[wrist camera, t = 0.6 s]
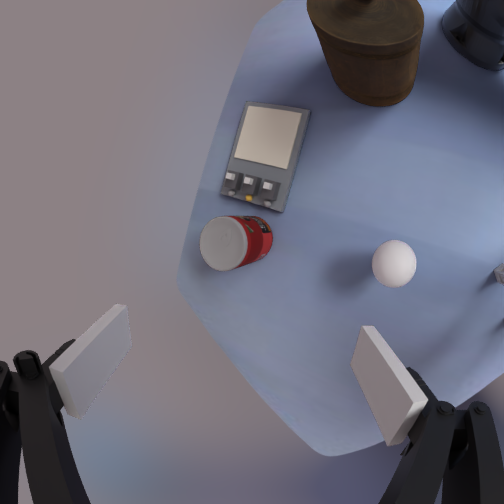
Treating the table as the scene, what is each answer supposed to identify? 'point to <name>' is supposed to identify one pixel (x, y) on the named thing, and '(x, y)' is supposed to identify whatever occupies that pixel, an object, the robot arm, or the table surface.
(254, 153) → the breaker board
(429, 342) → the table surface
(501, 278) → the stool
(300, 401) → the table surface
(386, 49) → the wooden container
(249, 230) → the canned food
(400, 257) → the lightbulb
